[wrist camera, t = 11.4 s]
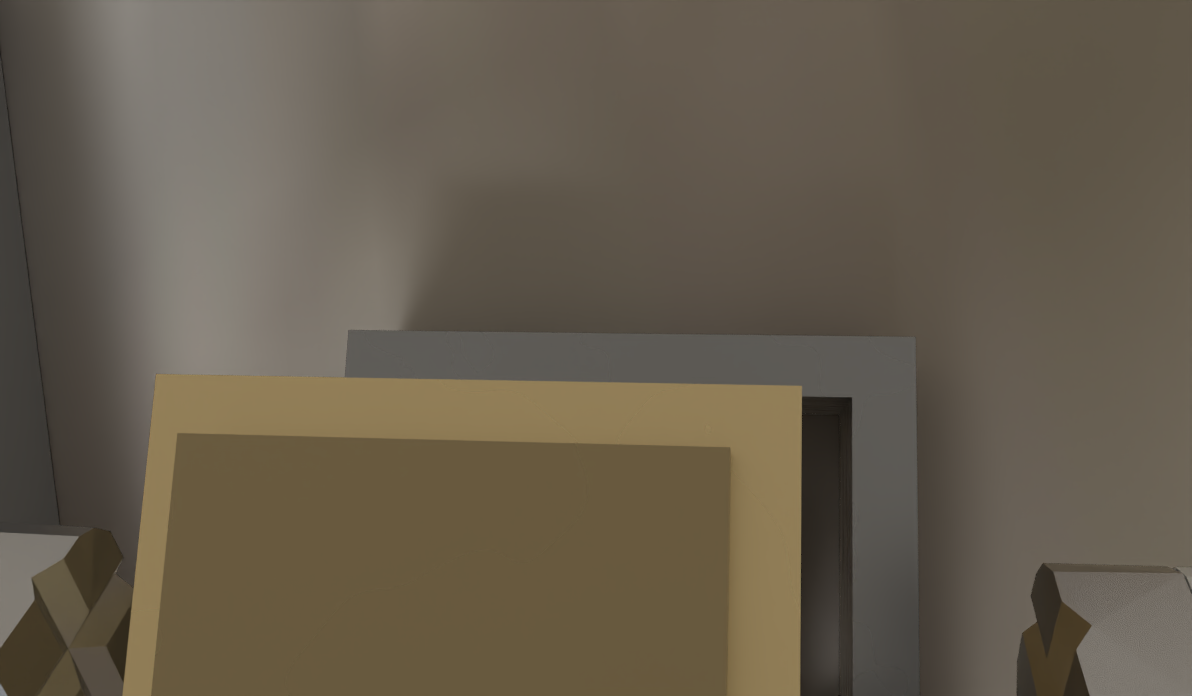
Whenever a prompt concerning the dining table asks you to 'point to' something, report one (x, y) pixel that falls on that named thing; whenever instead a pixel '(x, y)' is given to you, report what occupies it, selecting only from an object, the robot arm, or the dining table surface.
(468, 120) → the dining table surface
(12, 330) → the long grey bar
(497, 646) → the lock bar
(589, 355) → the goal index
